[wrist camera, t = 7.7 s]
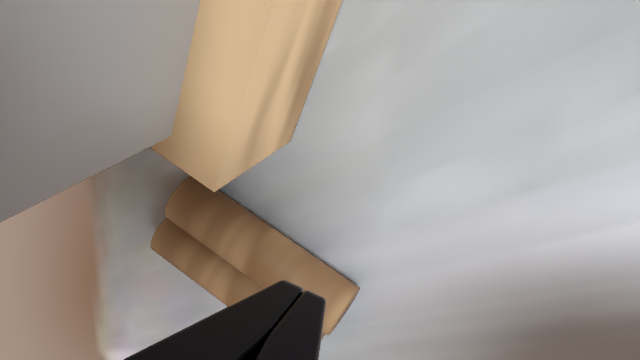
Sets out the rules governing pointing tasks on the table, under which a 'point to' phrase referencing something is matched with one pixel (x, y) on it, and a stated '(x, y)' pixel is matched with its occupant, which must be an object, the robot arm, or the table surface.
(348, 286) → the roller
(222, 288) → the roller
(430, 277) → the table surface
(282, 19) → the tan wooden block
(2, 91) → the grey rectangular block
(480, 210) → the table surface
